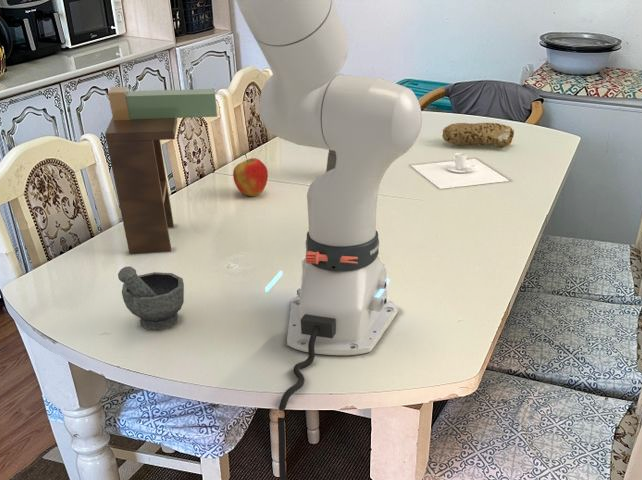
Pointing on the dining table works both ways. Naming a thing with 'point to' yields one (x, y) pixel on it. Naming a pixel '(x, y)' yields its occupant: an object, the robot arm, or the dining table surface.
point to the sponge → (478, 134)
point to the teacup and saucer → (458, 172)
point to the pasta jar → (161, 103)
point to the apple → (250, 177)
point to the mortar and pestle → (152, 297)
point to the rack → (142, 181)
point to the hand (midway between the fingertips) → (309, 43)
